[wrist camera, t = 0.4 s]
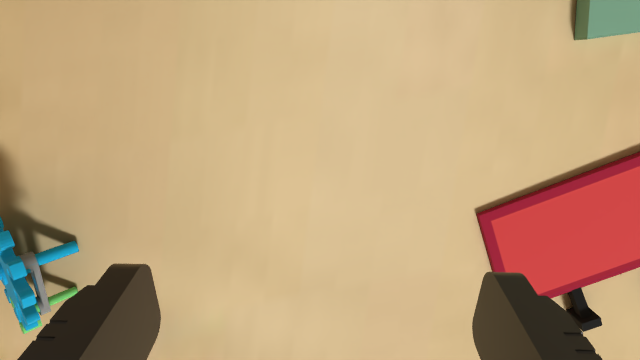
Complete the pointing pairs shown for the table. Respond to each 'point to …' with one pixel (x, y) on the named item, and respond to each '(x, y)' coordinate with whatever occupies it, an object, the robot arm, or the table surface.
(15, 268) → the gear
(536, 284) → the red board with handle
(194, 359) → the table surface
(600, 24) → the header board
